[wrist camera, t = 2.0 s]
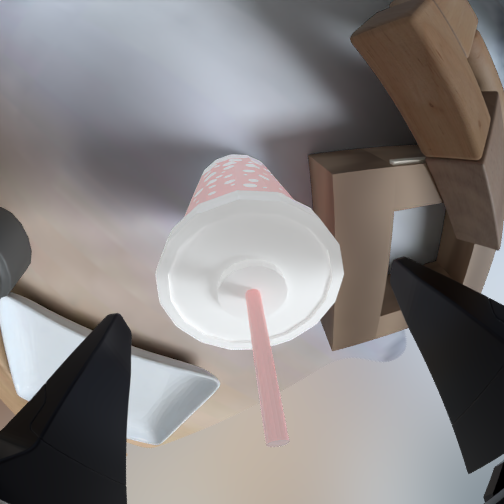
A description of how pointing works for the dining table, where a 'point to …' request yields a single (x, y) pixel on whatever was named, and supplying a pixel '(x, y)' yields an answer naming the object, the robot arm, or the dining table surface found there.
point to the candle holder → (12, 251)
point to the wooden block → (445, 104)
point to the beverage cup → (249, 271)
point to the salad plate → (142, 369)
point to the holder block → (380, 235)
